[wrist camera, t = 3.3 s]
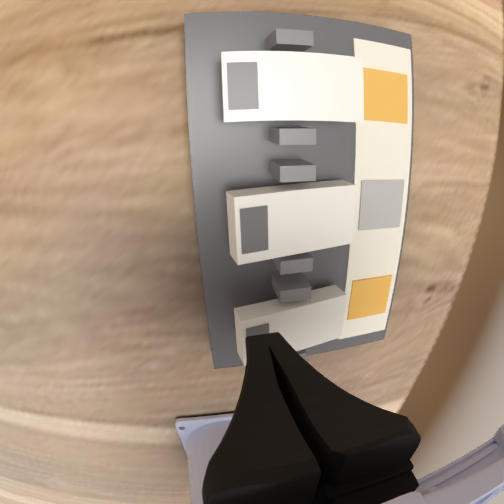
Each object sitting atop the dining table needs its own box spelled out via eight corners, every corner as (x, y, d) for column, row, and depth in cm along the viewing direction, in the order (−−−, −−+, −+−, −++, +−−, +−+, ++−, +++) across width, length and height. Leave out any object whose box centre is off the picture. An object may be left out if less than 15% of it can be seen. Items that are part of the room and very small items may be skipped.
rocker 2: (339, 235, 17) (353, 243, 16) (229, 254, 15) (238, 265, 14) (342, 179, 16) (357, 185, 15) (225, 191, 14) (234, 198, 13)
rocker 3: (330, 326, 19) (341, 337, 18) (237, 352, 18) (244, 366, 17) (335, 284, 18) (347, 294, 17) (233, 308, 16) (241, 322, 15)
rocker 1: (353, 121, 14) (364, 123, 13) (223, 121, 13) (224, 122, 12) (352, 61, 13) (363, 57, 11) (220, 56, 12) (221, 51, 11)
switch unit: (372, 324, 23) (396, 356, 20) (212, 350, 21) (217, 391, 18) (393, 38, 15) (432, 29, 11) (185, 24, 13) (183, 0, 10)
